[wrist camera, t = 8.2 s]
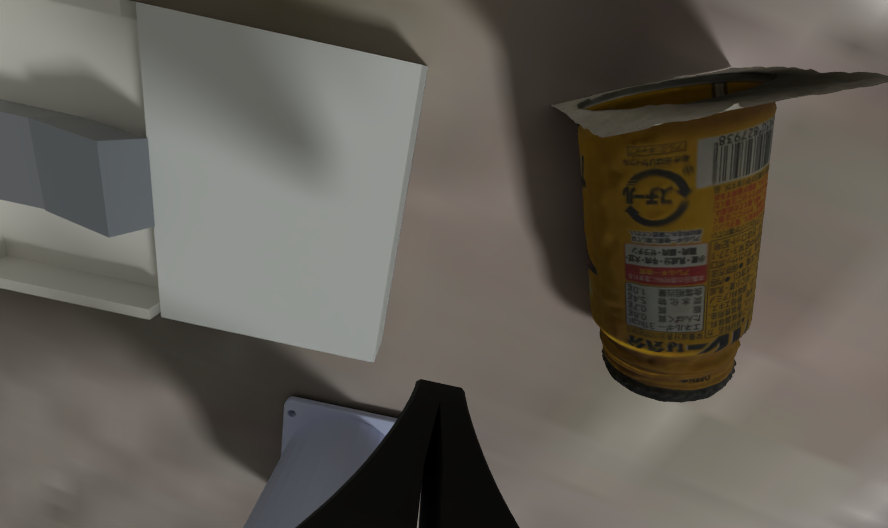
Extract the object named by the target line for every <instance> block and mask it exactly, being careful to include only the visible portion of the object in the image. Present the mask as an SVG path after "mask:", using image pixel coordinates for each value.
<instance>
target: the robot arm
mask: <svg viewBox="0 0 888 528" xmlns="http://www.w3.org/2000/svg"><path fill="white" fill-rule="evenodd" d="M291 410H293V411H294V412H292V411H291ZM421 485H422V486H421ZM420 493H421V501H420ZM419 502H420V516H419V528H519V526H518V524H517V522H516V521H515V519H514V517H513V515H512V514H511V512H510V510H509V508H508V506H507V504H506V503H505V501H504V499H503V497H502V495H501V493H500V491H499V489H498V487H497V485H496V483H495V481H494V478H493V476H492V474H491V472H490V469H489V467H488V465H487V462H486V460H485V457H484V455H483V452H482V450H481V447H480V444H479V442H478V439H477V436H476V433H475V430H474V427H473V424H472V421H471V418H470V414H469V410H468V407H467V402H466V398H465V392H464V391H463V389H462V388H459V387H455V386H450V385H445V384H441V383H436V382H431V381H427V380H422V379H420V380H418V381H416V384H415V387H414V390H413V392H412V395H411V397H410V399H409V400H408V402H407V404H406V406H405V408H404V409H403V411H402V412H401V414H400V416H399V417H398V418H393V417H388V416H384V415H379V414H374V413H370V412H365V411H360V410H356V409H351V408H346V407H341V406H337V405H332V404H327V403H323V402H318V401H313V400H309V399H304V398H299V397H293V396H291V397H289V398H288V399H287V400H286V401H285V404H284V415H283V431H282V447H281V458H280V459H279V461H278V463H277V465H276V467H275V469H274V471H273V473H272V475H271V476H270V478H269V480H268V482H267V484H266V486H265V488H264V490H263V492H262V493H261V495H260V497H259V499H258V501H257V503H256V505H255V507H254V508H253V510H252V512H251V514H250V516H249V518H248V520H247V522H246V524H245V525H244V527H243V528H417V520H418V511H419Z"/></svg>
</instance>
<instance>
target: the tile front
mask: <svg viewBox="0 0 888 528" xmlns="http://www.w3.org/2000/svg"><path fill="white" fill-rule="evenodd" d="M28 121H29V126H30V132H31V137H32V142H33V148H34V153H35V158H36V164H37V169H38V174H39V180H40V185H41V190H42V196H43V201H44V206H45V211H48V212H50V213H52V214H55V215H57V216H59V217H62V218H64V219H66V220H69V221H71V222H73V223H76V224H78V225H80V226H83V227H85V228H87V229H90V230H92V231H94V232H97V233H99V234H101V235H104V236H106V237H108V238H110V237H114V236H118V235H122V234H126V233H130V232H134V231H139V230H143V229H147V228H151V227H155V222H154V210H153V197H152V185H151V172H150V160H149V147H148V138H145V137H142V136H139V135H136V134H133V133H130V132H127V131H124V130H121V129H118V128H115V127H112V126H109V125H106V124H103V123H100V122H97V121H94V120H91V119H87V118H84V117H28Z"/></svg>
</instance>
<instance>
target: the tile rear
mask: <svg viewBox="0 0 888 528" xmlns="http://www.w3.org/2000/svg"><path fill="white" fill-rule="evenodd" d="M28 117H80V116H75V115H71V114H66V113H62V112H57V111H53V110H48V109H43V108H39V107H34V106H30V105H25V104H21V103H16V102H11V101H7V100H2V99H0V200H5V201H10V202H14V203H19V204H23V205H28V206H33V207H37V208H42V209H45V206H44V201H43V196H42V190H41V185H40V180H39V174H38V169H37V164H36V158H35V153H34V148H33V142H32V137H31V132H30V126H29V121H28Z"/></svg>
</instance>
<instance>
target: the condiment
mask: <svg viewBox="0 0 888 528" xmlns="http://www.w3.org/2000/svg"><path fill="white" fill-rule="evenodd" d="M886 82H888V76H885V75H882V74H878V73H869V72H854V73H846V72H829V73H819V72H817V71H815V70H812V69H809V70H804V69H799V68H794V67H791V68H786V67H768V68H765V67H751V68H729V69H726V70H722V71H717V72H713V73H706V74H702V75H695V76H685V77H682V78H672V79H666V80H662V81H659V82H650V83H646V84H641V85H635V86H630V87H625V88H621V89H617V90H612V91H608V92H604V93H600V94H595V95H593V96H590V97H585V98H579V99H575V100H571V101H566V102H564V103H558V104H555V105H550V106H549V107H551V106H553V107H554V108H555V107H556V108H557V109H558V110H560V111H561V112H564V113H565V114H567V115H568V116H569V117H570V118H571V119H572V120H574V122H575V123H576V124H577V123H578V124H579V127H578V143H579V152H580V167H581V175H582V177H581V181H582V190H583V193H582V194H583V211H584V217H583V219H584V221H585V222H584V231H585V234H586V251H587V259H588V271H589V283H590V284H589V295H590V296H589V297H590V307H591V313H592V316H593V319H594V321H595V322H596V324H597V325H598V326H599V327H600V338H601V341H602V344H603V349H602V353H603V355H602V357H603V360H604V361H605V365H606V368H607V369H608V371H609V373H610V375H611V376H612V377H613V378H614V380H616V381H618V382H619V383H620V384H621V385H623V386H624V387H626V388H627V389H629V390H630V391H632V392H634V393H636V394H638V395H642V396H645V397H648V398H652V399H655V400H658V401H663V402H667V401H668V402H686V401H696V400H700V399H705V398H708V397H710V396H712V395H714V394H715V393H716V392H718V391H719V390H721V389H722V388H723V387H724V386H726V384H727V382H728V381H729V380H730V379H731V378H732V374H733V373H734V372H735V369H734V366H736V361H735V360H734V357H735V355H736V353H737V350H738V348H739V347H740V341H739V338H741V337H742V336H743V334H744V333H745V332H746V331H747V330H748V329H749V327H750V323H751V320H752V313H753V303H754V297H755V289H756V277H757V268H758V260H759V252H760V242H761V235H762V227H763V226H762V224H763V217H764V209H765V198H766V189H767V180H768V170H769V161H770V153H771V145H772V135H773V125H774V119H775V112H776V108H777V107H776V104H775V101H780V100H785V99H790V98H798V97H805V96H808V95H820V94H829V93H834V92H838V91H841V90H848V89H854V88H858V87H869V86H875V85H878V84H882V83H886Z"/></svg>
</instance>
